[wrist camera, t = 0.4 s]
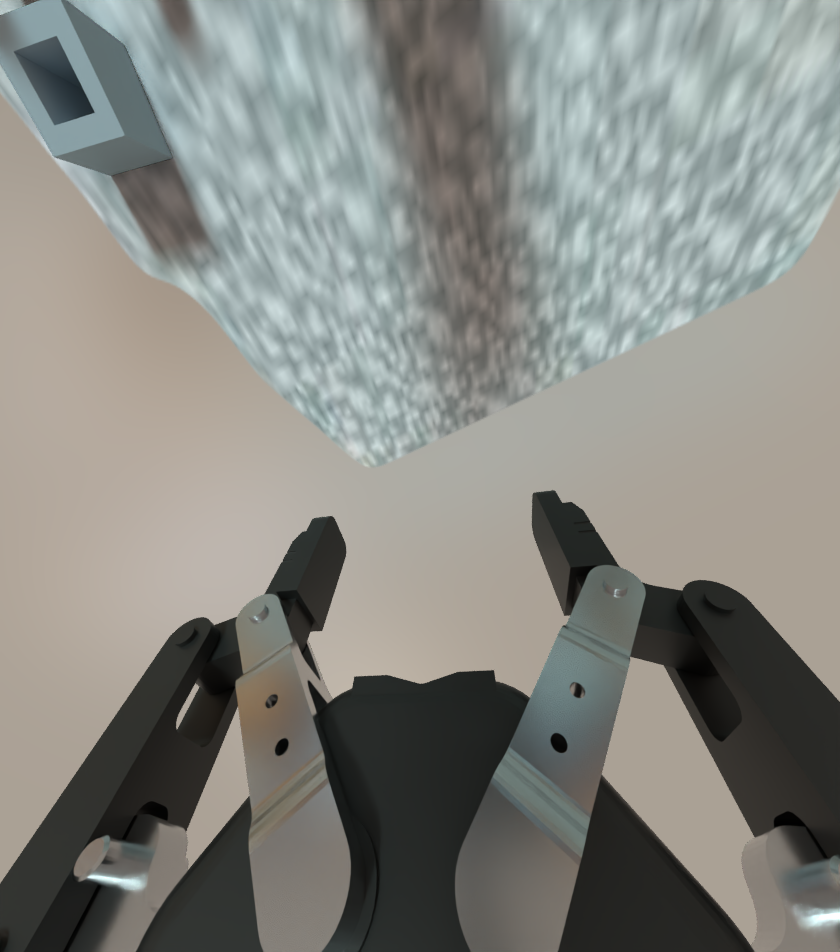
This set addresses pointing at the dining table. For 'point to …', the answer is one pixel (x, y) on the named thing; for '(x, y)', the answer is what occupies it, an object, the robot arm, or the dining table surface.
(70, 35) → the hole block
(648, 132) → the dining table surface
